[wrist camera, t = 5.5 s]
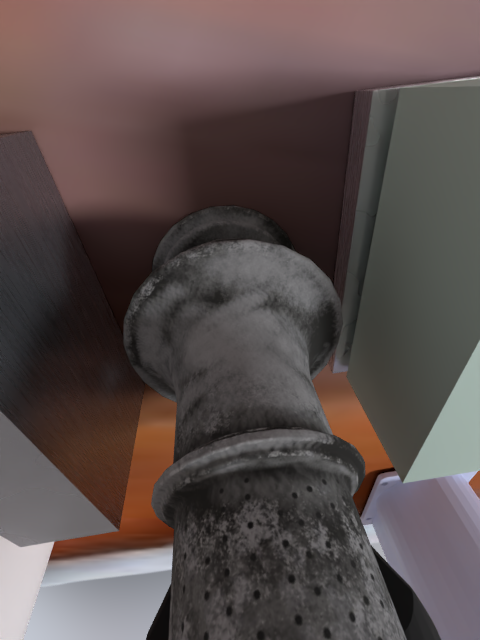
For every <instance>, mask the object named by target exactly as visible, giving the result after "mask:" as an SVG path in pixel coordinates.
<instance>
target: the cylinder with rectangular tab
mask: <svg viewBox="0 0 480 640" xmlns="http://www.w3.org/2000/svg"><path fill="white" fill-rule="evenodd" d="M53 545H54V542H49V543H43V544H37V545H31V546H25V547H19V546H17V545H16V544H14V543H12V542H10V541H9V540H7V539H5V538H3V537H2V536H0V640H23V639H24V636H25V633H26V629H27V626H28V623H29V620H30V617H31V614H32V611H33V608H34V605H35V601H36V598H37V595H38V592H39V589H40V586H41V583H42V579H43V576H44V573H45V570H46V567H47V564H48V561H49V557H50V554H51V551H52V548H53Z"/></svg>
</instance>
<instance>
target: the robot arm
mask: <svg viewBox="0 0 480 640" xmlns="http://www.w3.org/2000/svg"><path fill="white" fill-rule="evenodd" d="M477 472H478V471H474V472H468V473H462V474H456V475H450V476H444V477H438V478H432V479H426V480H420V481H414V482H408V483H402V481H401V480H400V478H399V476H398V474H397V472H396V471H392V472H386V473H382V474H380V475H378V477H377V479H376V481H375V484H374V486H373V489H372V491H371V494H370V496H369V499H368V501H367V503H366V506H365V508H364V511H363V513H362V516H361V518H360V519H361V521H362V524H363V525H368V524H373V527H374V529H375V532H376V534H377V537H378V539H379V542H380V544H381V547H382V549H383V551H384V554H385V556H386V559H387V561H388V563H387V562H386V561H385V560H384V559H383V558H382V557H381V556H380V555H379V553H378V552H376V550H375V549H374V548H373V547H372V546H371V548H372V550H373V553H374V555H375V558H376V561H377V563H378V566H379V568H380V571H381V574H382V576H383V579H384V581H385V584H386V587H387V589H388V592H389V594H390V597H391V600H392V602H393V605H394V608H395V610H396V613H397V615H398V618H399V621H400V623H401V626H402V628H403V631H404V634H405V636H406V639H407V640H480V500H479V498H478V497H477V495H476V494H475V492H474V491H473V489H472V488H471V487H470V485H469V484H468V482H469V481H470V480H471V479H472V477H473V476H474V475H475V474H476V473H477ZM170 600H171V585H170V587H169V589H168V592H167V594H166V596H165V598H164V600H163V603H162V604H161V606H160V608H159V611H158V613H157V615H156V617H155V619H154V621H153V624H152V625H151V627H150V630H149V632H148V634H147V638H146V640H168V638H169V619H170Z"/></svg>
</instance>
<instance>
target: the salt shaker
mask: <svg viewBox="0 0 480 640" xmlns="http://www.w3.org/2000/svg"><path fill="white" fill-rule="evenodd" d="M342 326H343V317H342V307H341V301H340V298H339V296H338V294H337V292H336V290H335V288H334V286H333V284H332V282H331V280H330V278H329V277H328V276H327V275H326V274H325V273H324V272H323V271H322V270H321V269H320V268H319V267H318V266H317V265H316V264H315V263H314V262H312V261H311V260H310V259H309V258H307V257H305V256H303V255H301V254H299V253H297V252H296V251H295V249H294V247H293V245H292V243H291V241H290V240H289V238H288V236H287V234H286V233H285V232H284V231H283V230H282V229H281V228H280V227H279V226H278V225H277V224H276V223H275V222H274V221H273V220H272V219H270V218H268V217H266V216H265V215H263V214H261V213H259V212H257V211H255V210H252V209H247V208H243V207H238V206H216V207H209V208H206V209H203V210H200V211H197V212H195V213H192V214H190V215H188V216H187V217H185V218H184V219H182V220H181V221H179V222H178V223H177V224H175V225H174V226H173V227H172V228H171V229H170V230H169V231H168V233H167V234H166V235H165V236H164V238H163V239H162V240H161V241H160V244H159V246H158V249H157V251H156V254H155V256H154V259H153V265H152V273H151V274H150V275H149V276H148V278H147V279H146V280H145V281H144V282H143V284H142V285H141V286H140V287H139V288H138V289H137V291H136V292H135V293H134V295H133V298H132V300H131V303H130V305H129V308H128V310H127V313H126V316H125V318H124V339H123V344H124V347H125V350H126V353H127V355H128V358H129V361H130V364H131V366H132V367H133V368H134V370H135V371H136V372H137V373H138V375H139V376H140V377H141V379H142V380H143V381H144V382H145V383H146V384H147V385H149V386H150V387H151V388H153V389H154V390H155V391H157V392H158V393H159V394H161V395H162V396H163V397H166V398H168V399H170V400H172V401H175V402H177V414H176V430H175V446H174V461H173V465H171V466H170V467H169V468H167V469H166V470H165V471H164V473H163V474H162V475H161V477H160V478H159V479H158V481H157V482H156V483H155V485H154V490H153V495H152V503H151V505H152V507H153V509H154V511H155V513H156V516H157V517H158V518H159V519H160V520H162V521H163V522H164V523H165V524H167V525H168V526H169V527H171V528H173V529H174V543H173V562H172V582H171V600H170V619H169V638H168V640H407V639H406V636H405V634H404V631H403V628H402V626H401V623H400V621H399V618H398V615H397V613H396V610H395V608H394V605H393V602H392V600H391V597H390V594H389V592H388V589H387V587H386V584H385V581H384V579H383V576H382V574H381V571H380V568H379V566H378V563H377V561H376V558H375V555H374V553H373V550H372V548H371V545H370V542H369V540H368V537H367V534H366V532H365V529H364V527H363V524H362V521H361V519H360V516H359V514H358V511H357V508H356V506H355V503H354V501H353V498H352V497H353V495H354V494H355V493H356V492H357V491H358V489H359V487H360V485H361V483H362V481H363V479H364V477H365V462H364V460H363V457H362V456H361V455H360V453H359V452H358V451H357V449H356V448H355V447H354V446H353V445H352V444H350V443H348V442H346V441H344V440H342V439H341V438H339V437H337V436H335V435H333V434H332V431H331V429H330V426H329V424H328V421H327V419H326V416H325V414H324V411H323V409H322V406H321V403H320V401H319V398H318V396H317V393H316V391H315V388H314V386H313V383H312V380H313V379H314V378H315V377H316V375H317V374H318V373H319V372H320V371H321V370H322V369H323V368H324V367H325V366H326V365H327V363H328V361H329V360H330V358H331V356H332V354H333V353H334V351H335V349H336V347H337V346H338V343H339V339H340V335H341V330H342Z"/></svg>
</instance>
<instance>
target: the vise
mask: <svg viewBox="0 0 480 640" xmlns="http://www.w3.org/2000/svg"><path fill="white" fill-rule="evenodd" d="M477 78H480V76H472V77H463V78H455V79H447V80H439V81H431V82H423V83H415V84H407V85H399V86H390V87H382V88H374V89H366V90H358V91H356V92H355V100H354V109H353V118H352V127H351V135H350V144H349V153H348V162H347V170H346V179H345V188H344V197H343V205H342V214H341V223H340V232H339V241H338V249H337V258H336V267H335V276H334V284H333V286H334V288H335V290H336V292H337V294H338V296H339V298H340V301H341V307H342V317H343V326H342V330H341V335H340V339H339V343H338V346H337V347H336V349H335V351H334V353H333V354H332V356H331V358H330V360H329V361H328V364H329V366H330V369H331V371H332V373H338V372H344V371H348V366H349V360H350V355H351V350H352V344H353V339H354V334H355V328H356V323H357V318H358V312H359V307H360V302H361V296H362V291H363V285H364V280H365V275H366V269H367V264H368V259H369V253H370V248H371V243H372V237H373V232H374V227H375V221H376V216H377V210H378V205H379V200H380V194H381V189H382V184H383V178H384V173H385V168H386V162H387V157H388V152H389V146H390V141H391V136H392V130H393V125H394V119H395V114H396V109H397V103H398V98H399V93H400V88H404V87H412V86H420V85H428V84H436V83H444V82H452V81H461V80H469V79H477ZM123 339H124V337H123V335H122V332H121V330H120V328H119V326H118V324H117V321H116V319H115V317H114V315H113V312H112V310H111V308H110V306H109V303H108V301H107V299H106V297H105V295H104V292H103V290H102V288H101V286H100V283H99V281H98V279H97V277H96V274H95V272H94V270H93V268H92V266H91V263H90V261H89V259H88V257H87V254H86V252H85V250H84V248H83V245H82V243H81V241H80V239H79V236H78V234H77V232H76V230H75V228H74V225H73V223H72V221H71V219H70V216H69V214H68V212H67V210H66V207H65V205H64V203H63V201H62V199H61V196H60V194H59V192H58V190H57V187H56V185H55V183H54V181H53V178H52V176H51V174H50V172H49V170H48V167H47V165H46V163H45V161H44V158H43V156H42V154H41V152H40V149H39V147H38V145H37V143H36V141H35V138H34V136H33V134H32V132H31V131H25V132H17V133H9V134H1V135H0V536H2V537H3V538H5V539H7V540H9V541H10V542H12V543H14V544H16V545H17V546H19V547H25V546H31V545H37V544H43V543H49V542H55V541H61V540H67V539H73V538H79V537H85V536H91V535H97V534H103V533H109V532H115V531H119V528H120V522H121V516H122V511H123V505H124V500H125V494H126V488H127V483H128V477H129V471H130V466H131V460H132V455H133V449H134V443H135V438H136V432H137V427H138V421H139V415H140V410H141V404H142V399H143V393H144V387H145V384H144V382H143V380H142V379H141V377H140V376H139V375H138V373H137V372H136V371H135V370H134V368H133V367H132V366H131V364H130V361H129V358H128V355H127V353H126V350H125V347H124V344H123Z"/></svg>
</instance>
